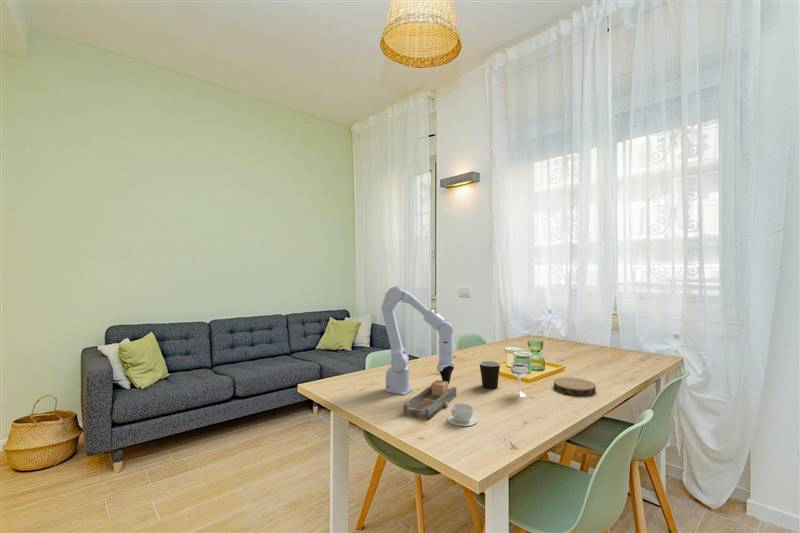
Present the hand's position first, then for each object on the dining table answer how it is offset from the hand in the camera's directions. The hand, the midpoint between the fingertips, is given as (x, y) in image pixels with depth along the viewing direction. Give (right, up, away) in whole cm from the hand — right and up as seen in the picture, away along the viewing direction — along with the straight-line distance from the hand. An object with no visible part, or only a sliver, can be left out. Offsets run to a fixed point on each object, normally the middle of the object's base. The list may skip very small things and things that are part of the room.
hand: (446, 384), depth 153 cm
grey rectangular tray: (-7, -4, -13) cm, 15 cm away
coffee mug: (+21, -4, +8) cm, 23 cm away
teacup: (+2, -4, -27) cm, 28 cm away
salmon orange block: (-3, -2, -6) cm, 7 cm away
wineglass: (+30, -4, -2) cm, 30 cm away
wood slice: (+54, -4, +2) cm, 54 cm away
